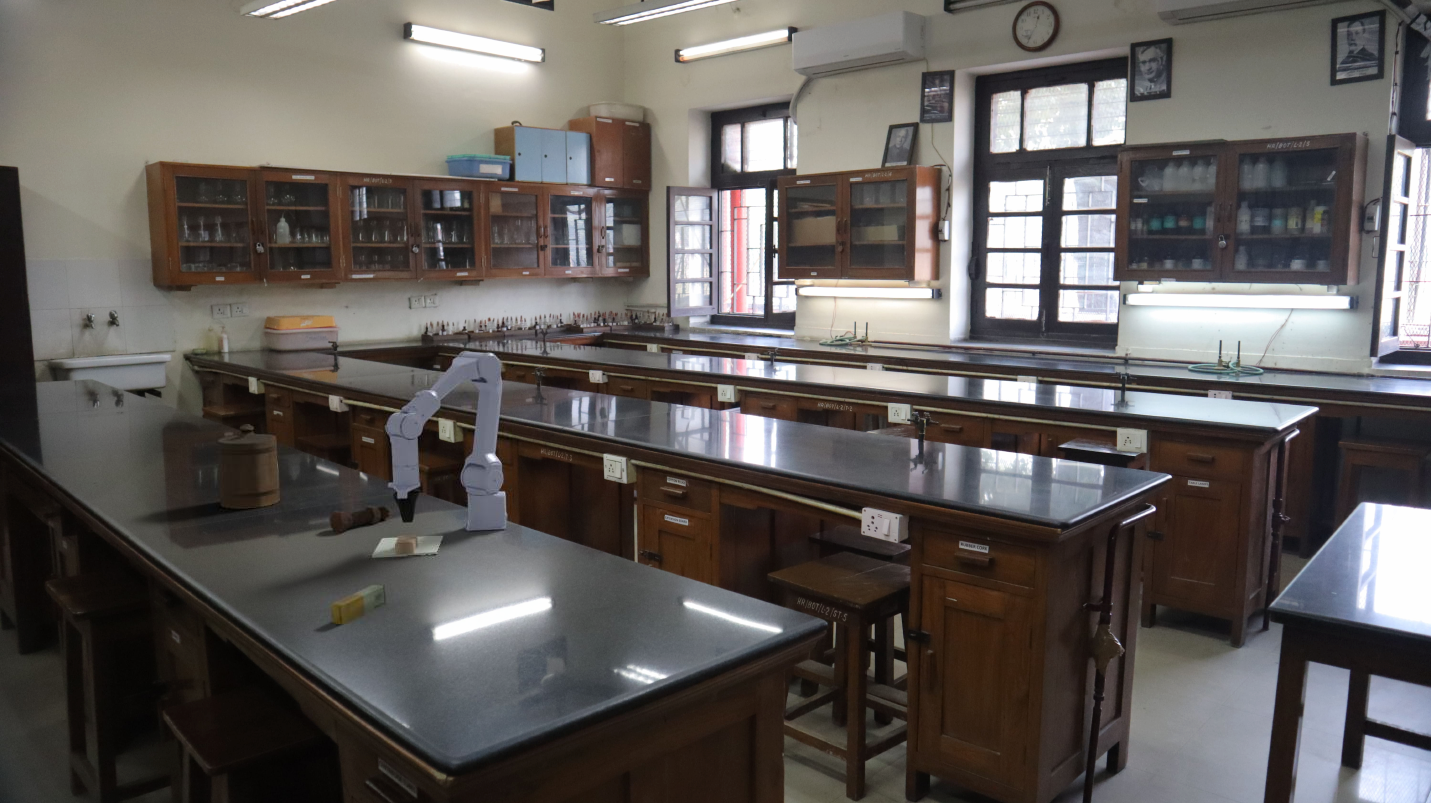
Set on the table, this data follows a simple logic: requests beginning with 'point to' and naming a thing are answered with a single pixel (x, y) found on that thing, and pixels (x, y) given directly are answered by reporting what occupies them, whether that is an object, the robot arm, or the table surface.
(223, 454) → the wooden container
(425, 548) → the board
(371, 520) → the bolt
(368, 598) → the medication box
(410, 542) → the slab
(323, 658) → the table surface
